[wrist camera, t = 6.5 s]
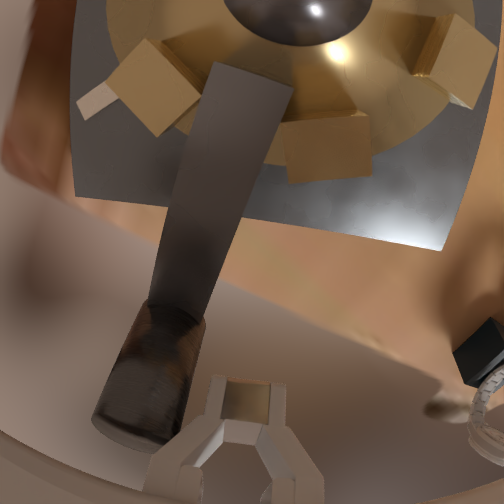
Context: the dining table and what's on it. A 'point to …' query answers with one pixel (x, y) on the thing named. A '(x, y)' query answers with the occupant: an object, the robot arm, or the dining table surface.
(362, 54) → the ball knob lever
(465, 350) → the watch
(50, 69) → the dining table surface
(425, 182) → the plate
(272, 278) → the dining table surface
